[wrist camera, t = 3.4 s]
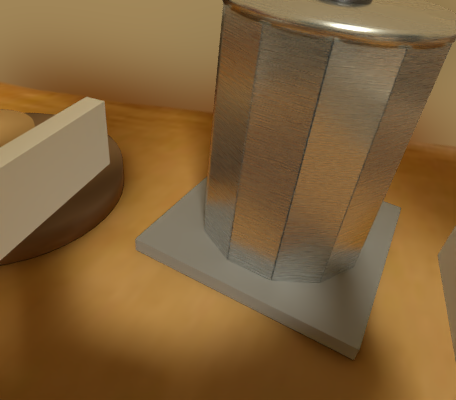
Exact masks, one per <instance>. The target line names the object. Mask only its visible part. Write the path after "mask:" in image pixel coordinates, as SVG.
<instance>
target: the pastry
mask: <svg viewBox="0 0 456 400" xmlns="http://www.w3.org/2000/svg"><path fill="white" fill-rule="evenodd" d="M34 127H35V125H34V121H33V119H32V118H31V117H30V116H28V115H27V114H25V113H22V112H18V111H14V110H4V109H0V147H2V146H3V145H5V144H7V143H9V142H10V141H12V140H14V139H15V138H17V137H19V136H20V135H22V134H24V133H26V132H27V131H29V130H31V129H32V128H34Z"/></svg>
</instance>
